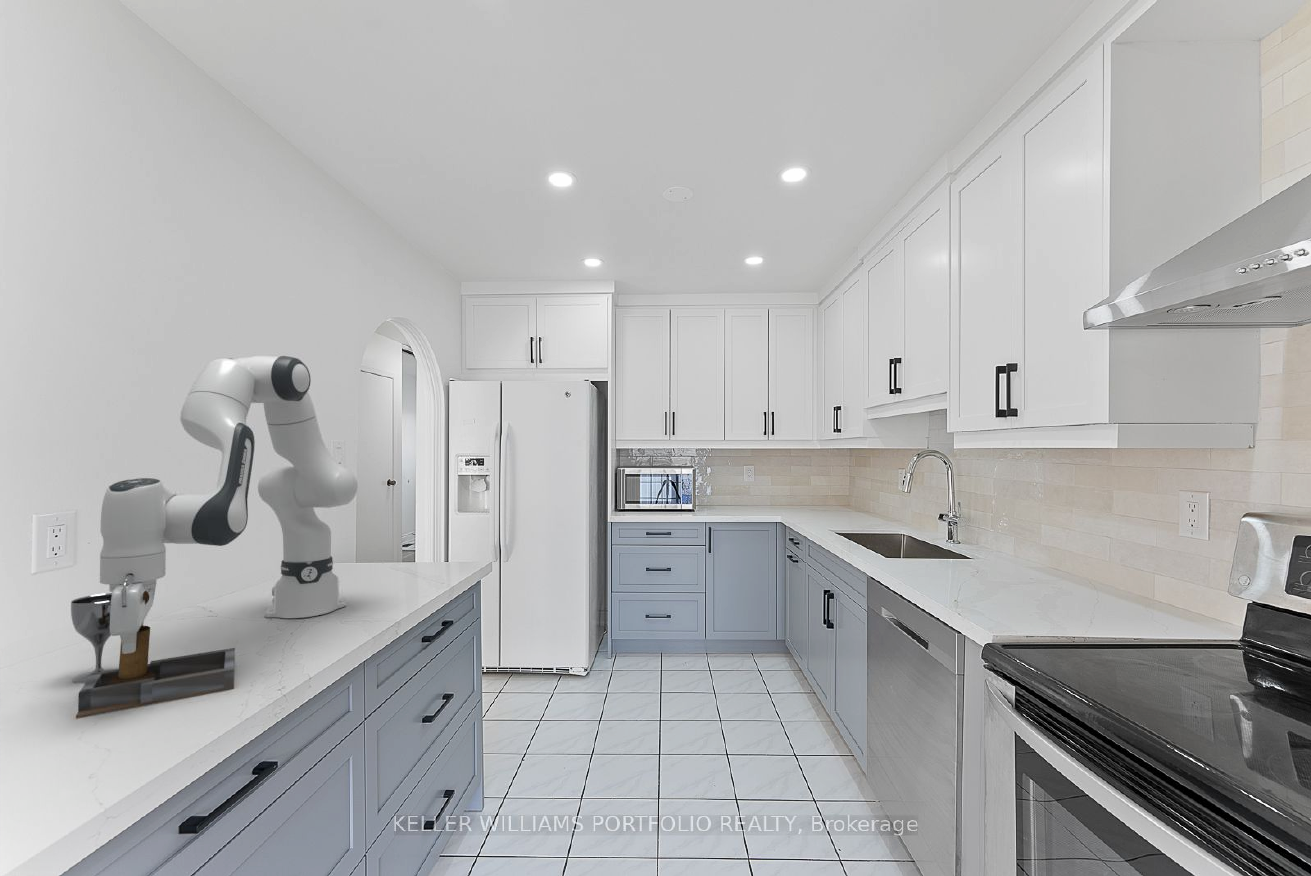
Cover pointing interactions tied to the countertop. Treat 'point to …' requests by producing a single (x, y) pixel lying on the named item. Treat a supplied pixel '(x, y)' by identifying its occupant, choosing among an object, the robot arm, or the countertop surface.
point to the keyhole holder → (159, 683)
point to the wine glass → (92, 625)
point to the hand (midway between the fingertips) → (132, 646)
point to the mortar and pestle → (135, 658)
